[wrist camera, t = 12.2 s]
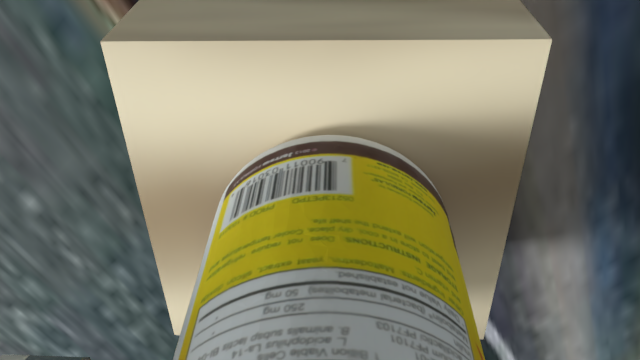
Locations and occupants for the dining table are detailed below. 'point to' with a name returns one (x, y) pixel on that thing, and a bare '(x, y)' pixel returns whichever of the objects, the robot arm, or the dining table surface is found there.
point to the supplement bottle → (330, 262)
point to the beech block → (326, 108)
